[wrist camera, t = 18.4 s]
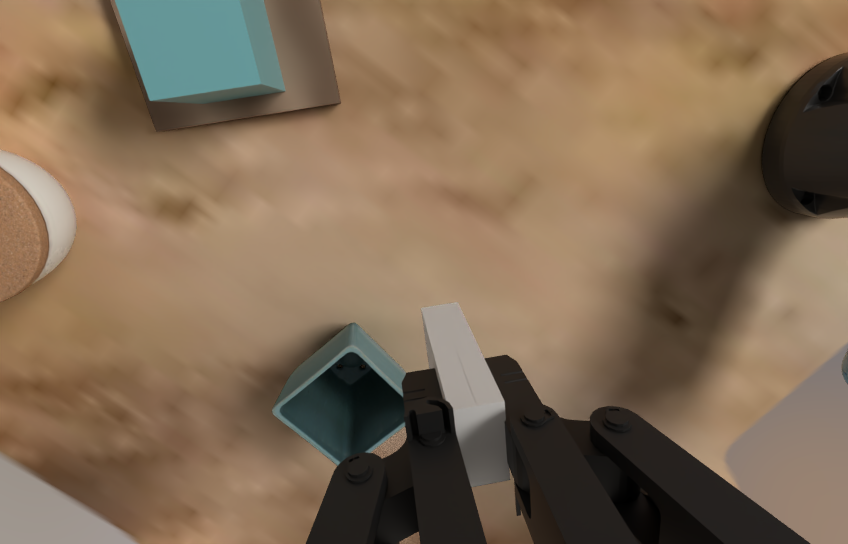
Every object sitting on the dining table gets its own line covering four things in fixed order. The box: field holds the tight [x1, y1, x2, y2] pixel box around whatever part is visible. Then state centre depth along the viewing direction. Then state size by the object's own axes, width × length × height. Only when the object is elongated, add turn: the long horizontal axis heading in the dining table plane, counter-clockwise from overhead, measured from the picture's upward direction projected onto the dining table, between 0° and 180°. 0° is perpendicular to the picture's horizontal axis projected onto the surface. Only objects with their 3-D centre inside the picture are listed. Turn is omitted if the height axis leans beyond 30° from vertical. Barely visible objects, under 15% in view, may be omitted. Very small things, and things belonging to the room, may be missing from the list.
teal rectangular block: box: [115, 0, 286, 104], centre depth 28 cm, size 6×6×9 cm
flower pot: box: [272, 323, 406, 466], centre depth 39 cm, size 9×9×9 cm
